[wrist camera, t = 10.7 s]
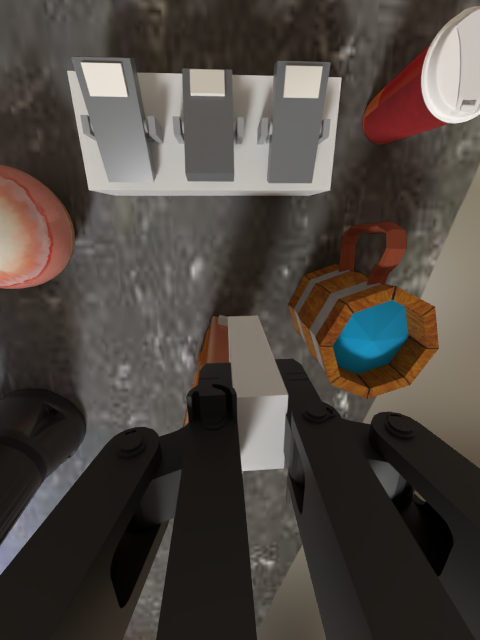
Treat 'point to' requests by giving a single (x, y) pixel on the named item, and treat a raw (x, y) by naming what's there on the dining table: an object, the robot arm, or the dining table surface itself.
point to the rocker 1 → (117, 116)
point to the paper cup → (431, 85)
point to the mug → (365, 319)
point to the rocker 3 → (296, 120)
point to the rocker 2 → (208, 124)
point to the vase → (31, 231)
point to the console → (168, 141)
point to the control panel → (213, 349)
